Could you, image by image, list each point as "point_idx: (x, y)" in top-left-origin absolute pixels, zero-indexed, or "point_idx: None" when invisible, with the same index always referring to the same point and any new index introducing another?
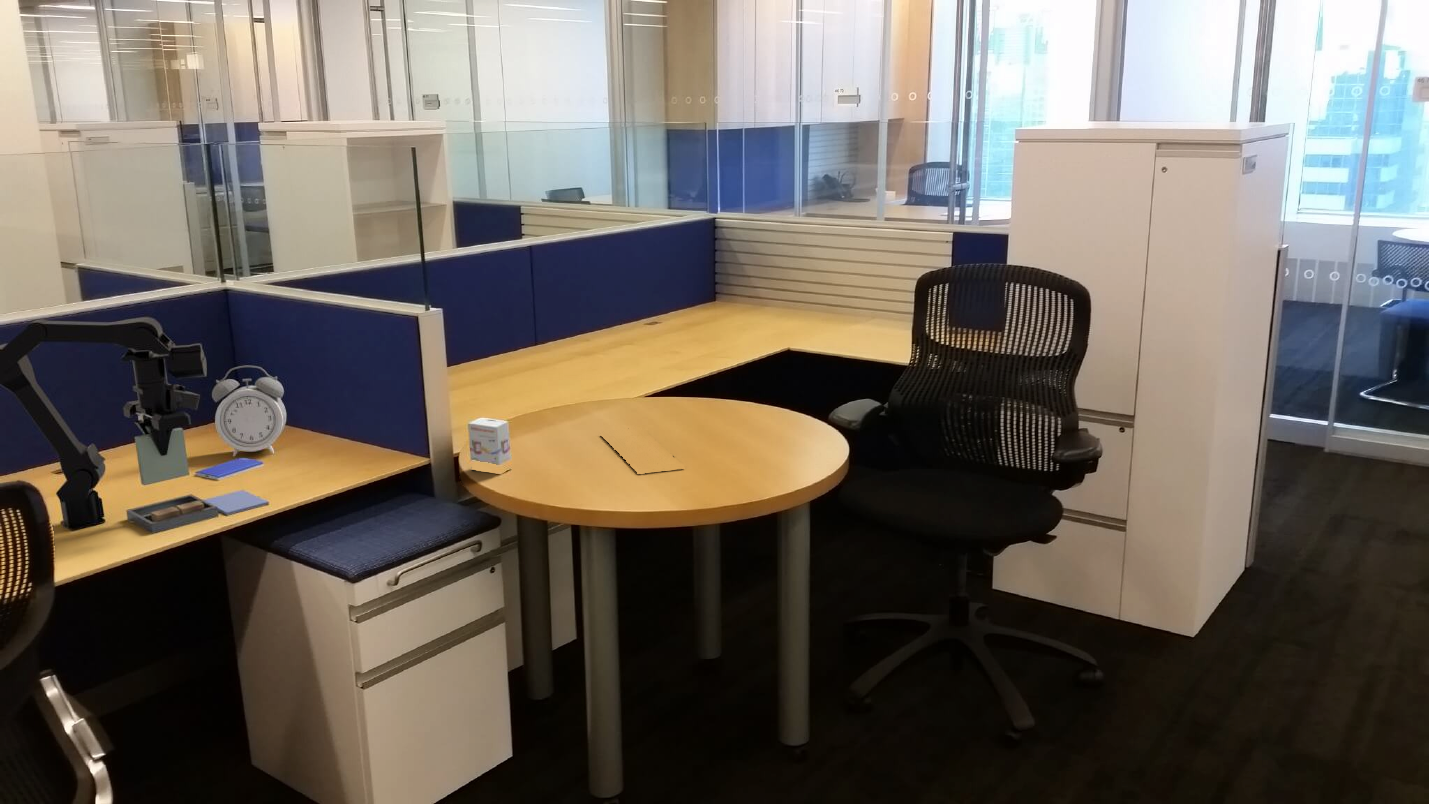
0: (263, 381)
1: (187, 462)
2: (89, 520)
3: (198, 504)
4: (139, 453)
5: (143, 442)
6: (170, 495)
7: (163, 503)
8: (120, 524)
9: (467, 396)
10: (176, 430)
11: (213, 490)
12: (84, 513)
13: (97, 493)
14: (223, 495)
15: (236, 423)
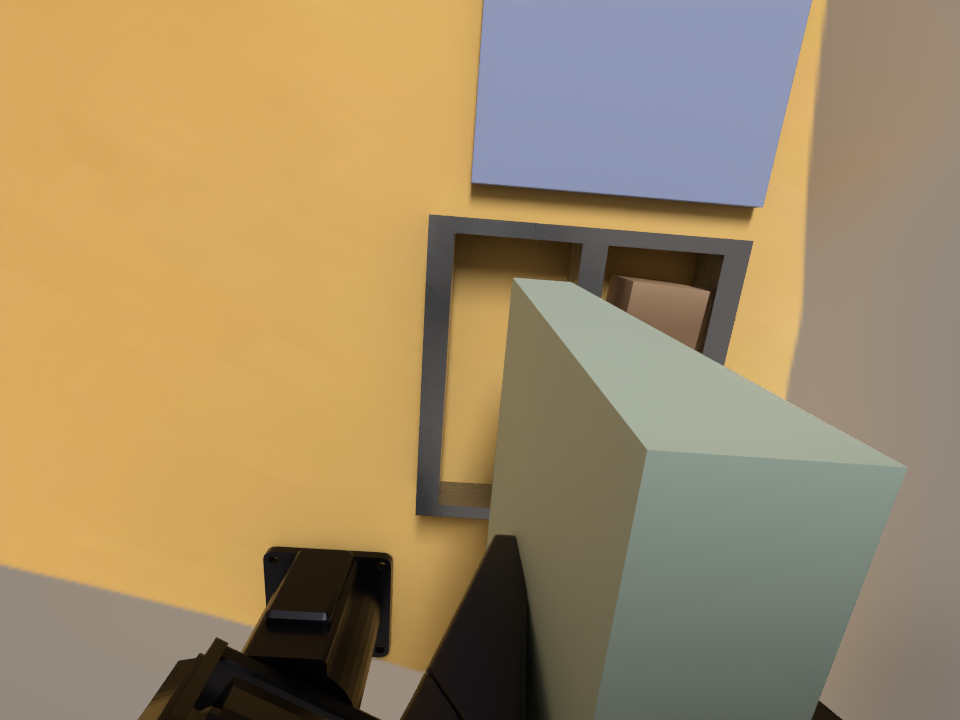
0: None
1: (596, 297)
2: (380, 613)
3: (692, 313)
4: None
5: None
6: (220, 220)
7: (445, 369)
8: (455, 528)
9: None
10: (834, 636)
11: (309, 16)
12: (372, 653)
13: (328, 659)
14: (493, 55)
15: None
